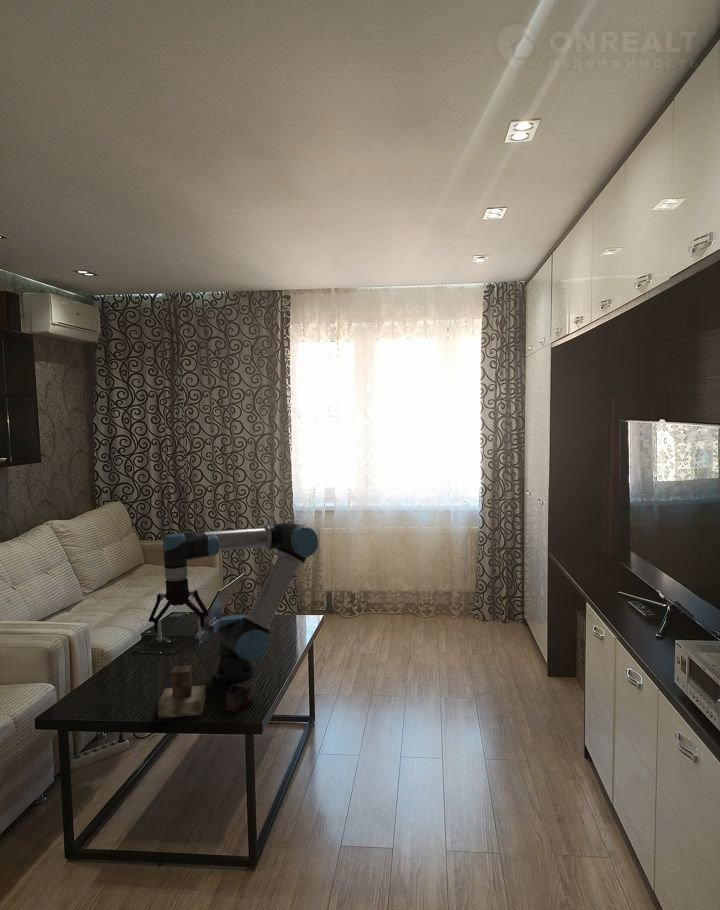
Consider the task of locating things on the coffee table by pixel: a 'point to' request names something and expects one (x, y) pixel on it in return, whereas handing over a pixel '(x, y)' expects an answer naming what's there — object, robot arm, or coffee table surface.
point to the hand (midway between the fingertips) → (180, 638)
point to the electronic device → (237, 698)
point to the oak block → (182, 703)
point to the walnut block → (181, 682)
